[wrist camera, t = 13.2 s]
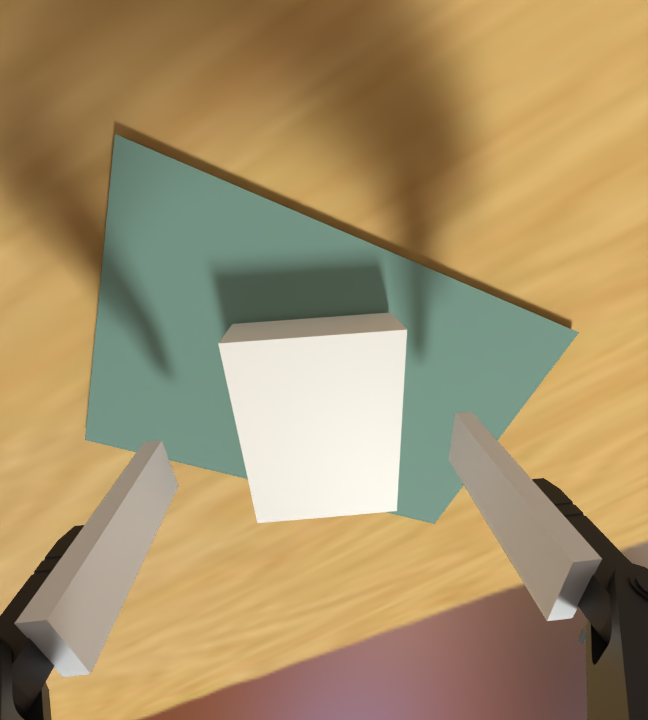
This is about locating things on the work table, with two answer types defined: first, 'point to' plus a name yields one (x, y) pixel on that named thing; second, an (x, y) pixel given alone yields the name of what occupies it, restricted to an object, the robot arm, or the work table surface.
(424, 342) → the mat
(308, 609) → the work table surface
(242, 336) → the card box
